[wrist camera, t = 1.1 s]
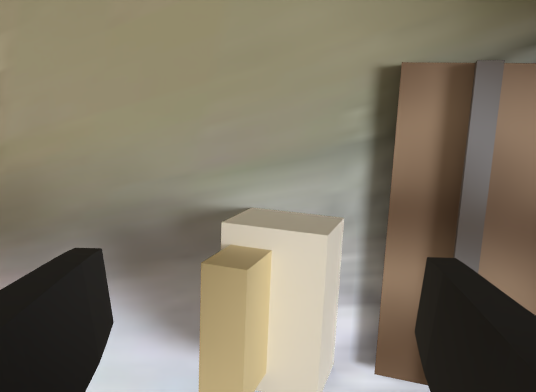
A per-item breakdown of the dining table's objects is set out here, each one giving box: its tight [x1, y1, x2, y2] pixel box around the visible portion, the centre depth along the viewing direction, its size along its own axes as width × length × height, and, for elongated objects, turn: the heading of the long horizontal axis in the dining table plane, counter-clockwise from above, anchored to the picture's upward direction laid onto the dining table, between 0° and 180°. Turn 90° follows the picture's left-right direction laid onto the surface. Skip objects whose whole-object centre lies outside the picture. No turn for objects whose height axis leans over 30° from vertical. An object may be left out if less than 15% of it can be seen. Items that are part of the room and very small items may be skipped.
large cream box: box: [199, 208, 344, 392], centre depth 22 cm, size 8×5×7 cm, turn 177°
